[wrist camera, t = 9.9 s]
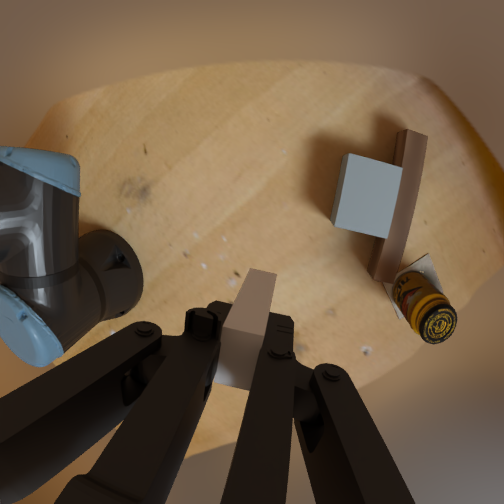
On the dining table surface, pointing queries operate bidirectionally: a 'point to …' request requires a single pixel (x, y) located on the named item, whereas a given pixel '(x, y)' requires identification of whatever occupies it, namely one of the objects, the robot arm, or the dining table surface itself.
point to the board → (400, 206)
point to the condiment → (423, 301)
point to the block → (366, 195)
